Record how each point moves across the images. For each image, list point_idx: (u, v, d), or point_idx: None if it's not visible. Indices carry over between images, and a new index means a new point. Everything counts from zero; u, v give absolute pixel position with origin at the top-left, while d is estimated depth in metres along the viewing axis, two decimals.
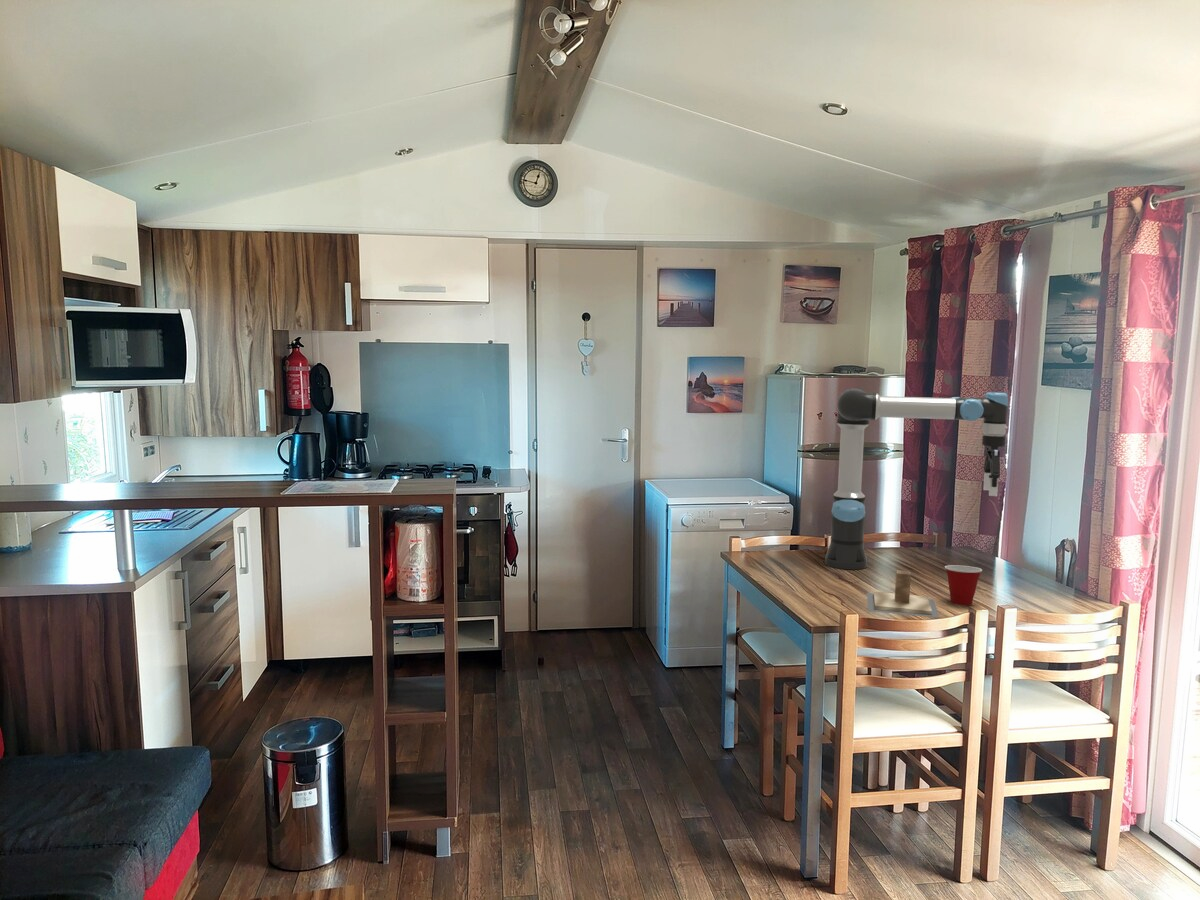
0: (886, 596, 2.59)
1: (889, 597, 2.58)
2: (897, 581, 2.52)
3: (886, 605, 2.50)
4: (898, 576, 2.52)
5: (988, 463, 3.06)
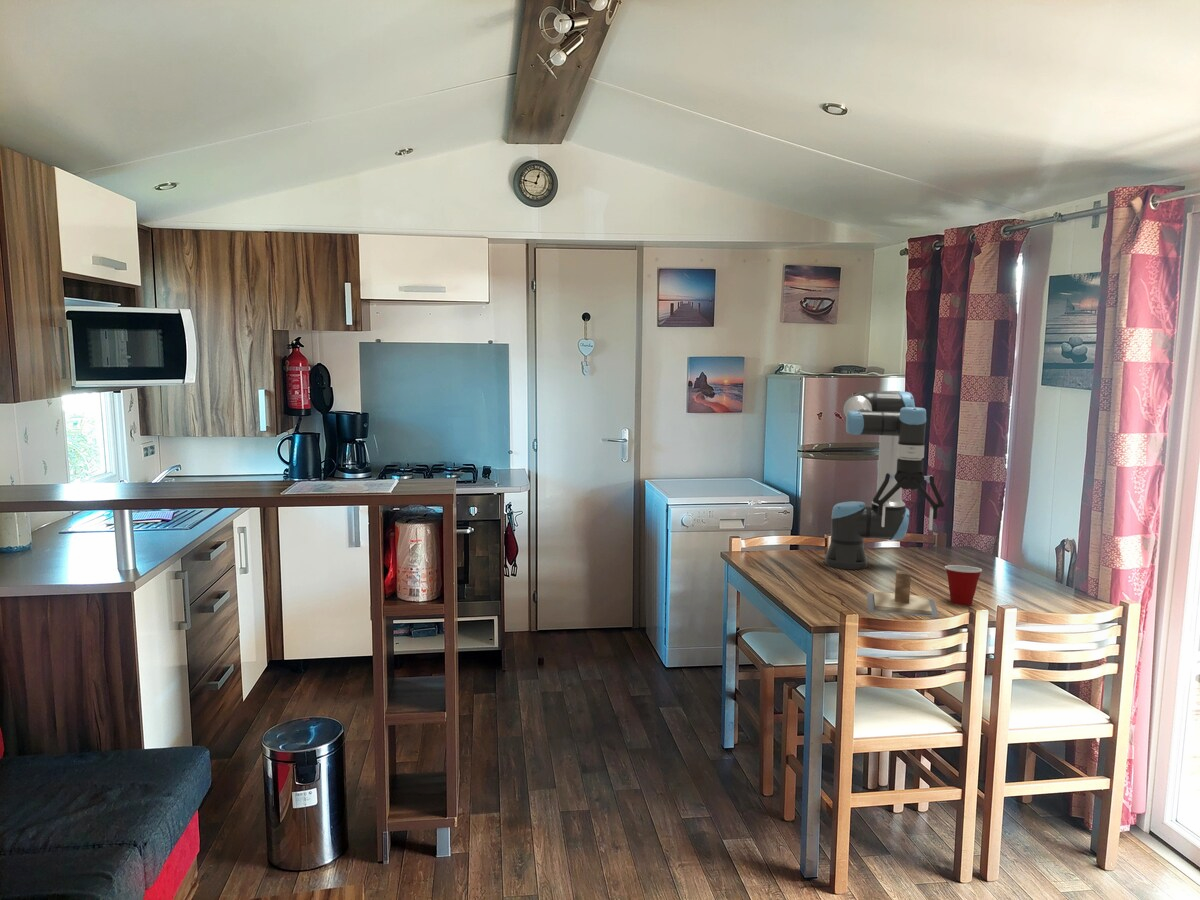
0: (886, 596, 2.59)
1: (889, 597, 2.58)
2: (897, 581, 2.52)
3: (886, 605, 2.50)
4: (898, 576, 2.52)
5: None
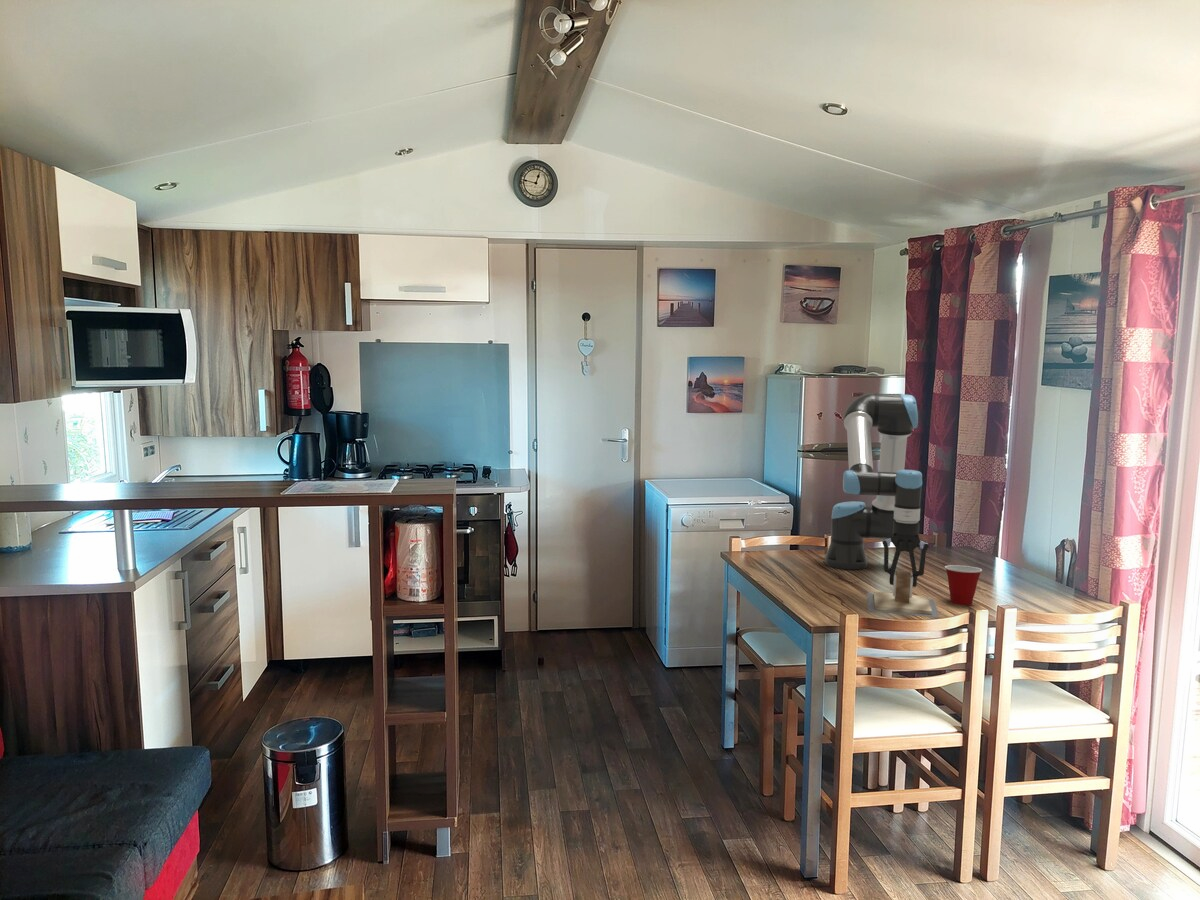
0: (886, 596, 2.59)
1: (889, 597, 2.58)
2: (897, 581, 2.52)
3: (886, 605, 2.50)
4: (898, 576, 2.52)
5: (910, 559, 2.53)
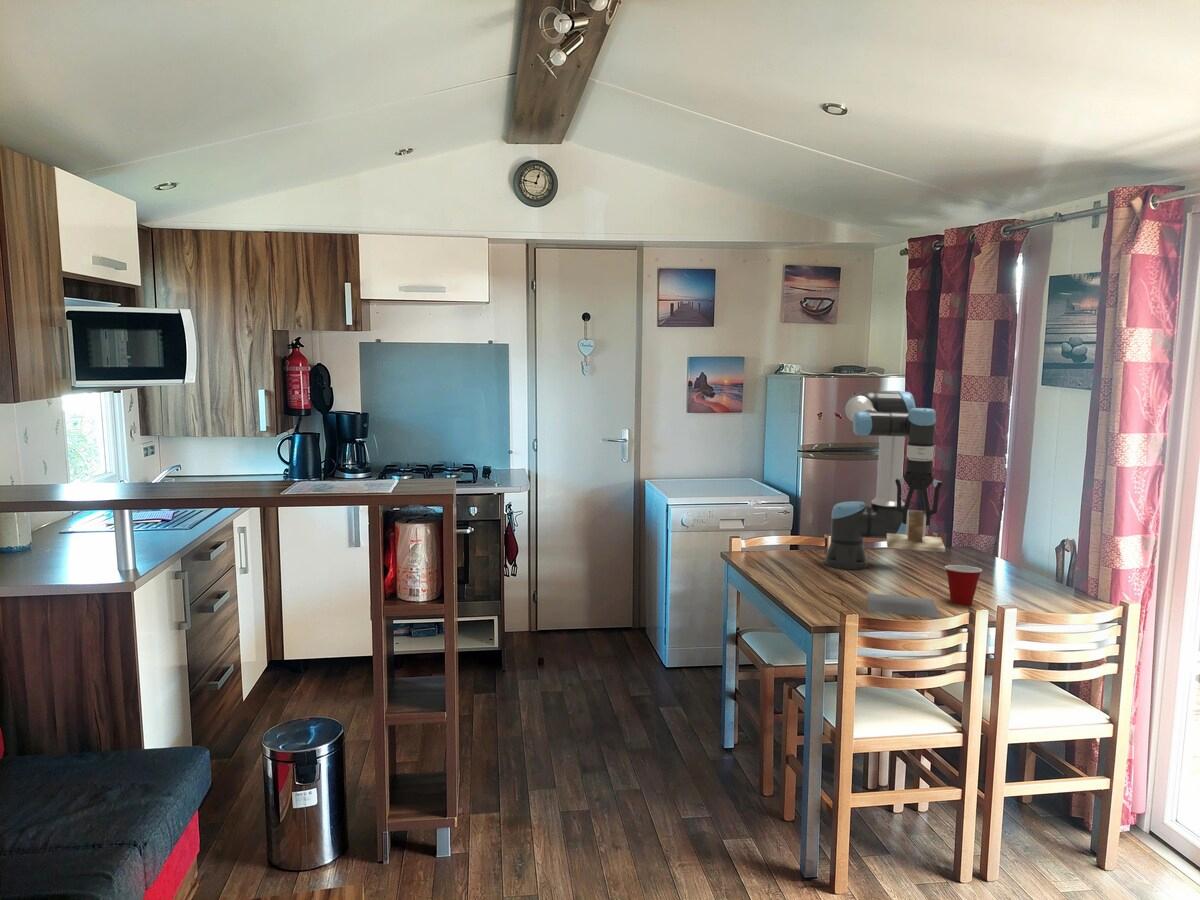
0: (899, 537, 2.58)
1: (901, 538, 2.56)
2: (910, 520, 2.51)
3: (899, 543, 2.48)
4: (911, 515, 2.51)
5: (923, 497, 2.52)
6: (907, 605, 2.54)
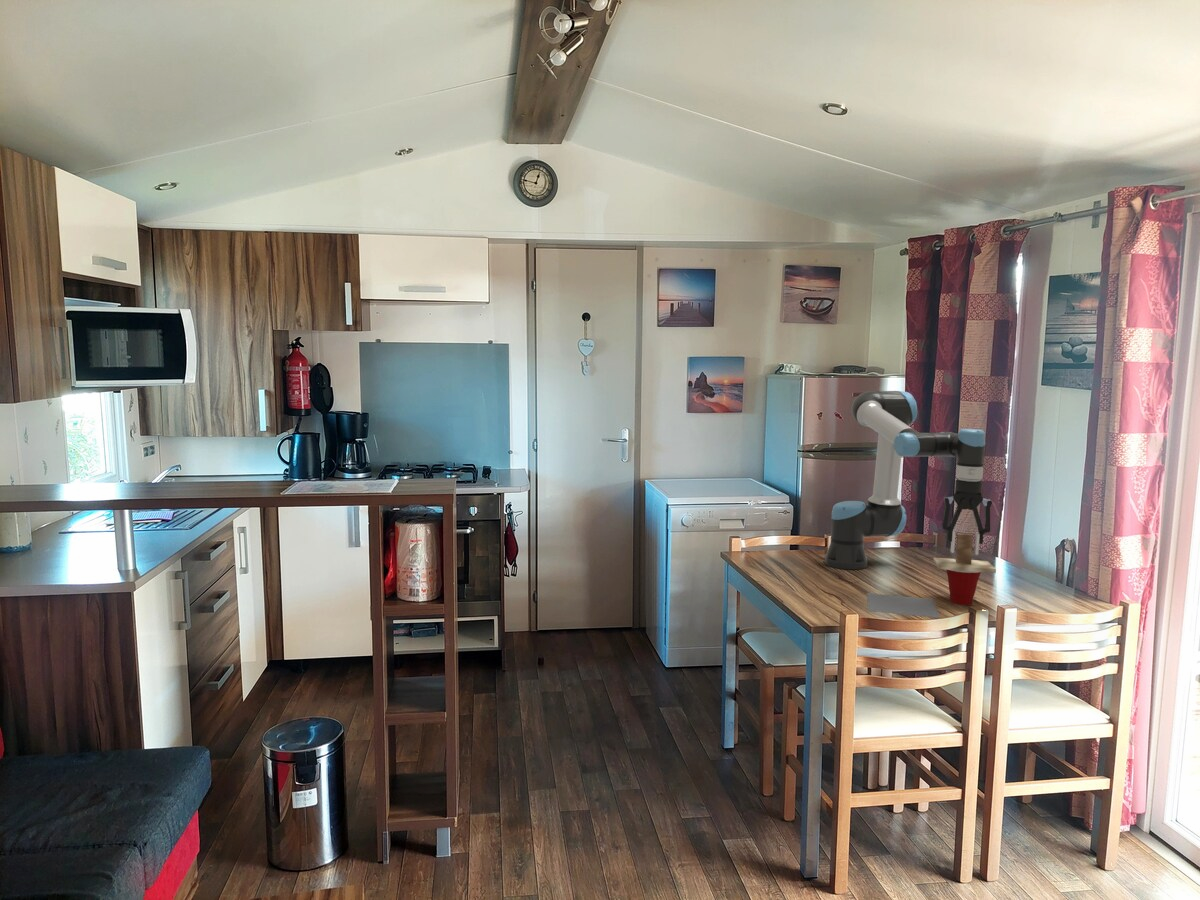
0: (947, 560, 2.62)
1: (950, 561, 2.61)
2: (959, 542, 2.56)
3: (949, 565, 2.53)
4: (959, 537, 2.56)
5: None
6: (907, 605, 2.54)
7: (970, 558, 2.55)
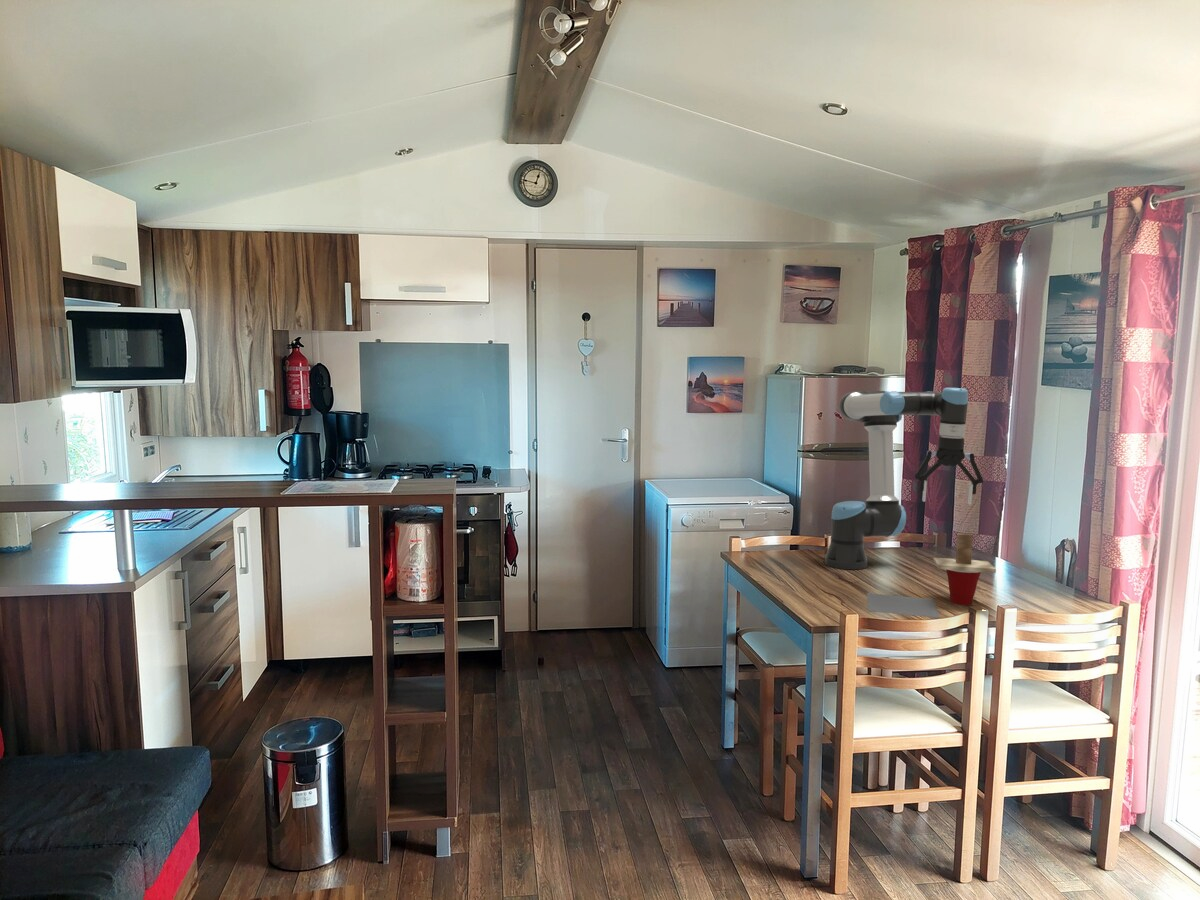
0: (947, 560, 2.62)
1: (949, 561, 2.61)
2: (959, 542, 2.56)
3: (949, 565, 2.53)
4: (959, 537, 2.56)
5: (963, 471, 2.63)
6: (907, 605, 2.54)
7: (970, 558, 2.55)
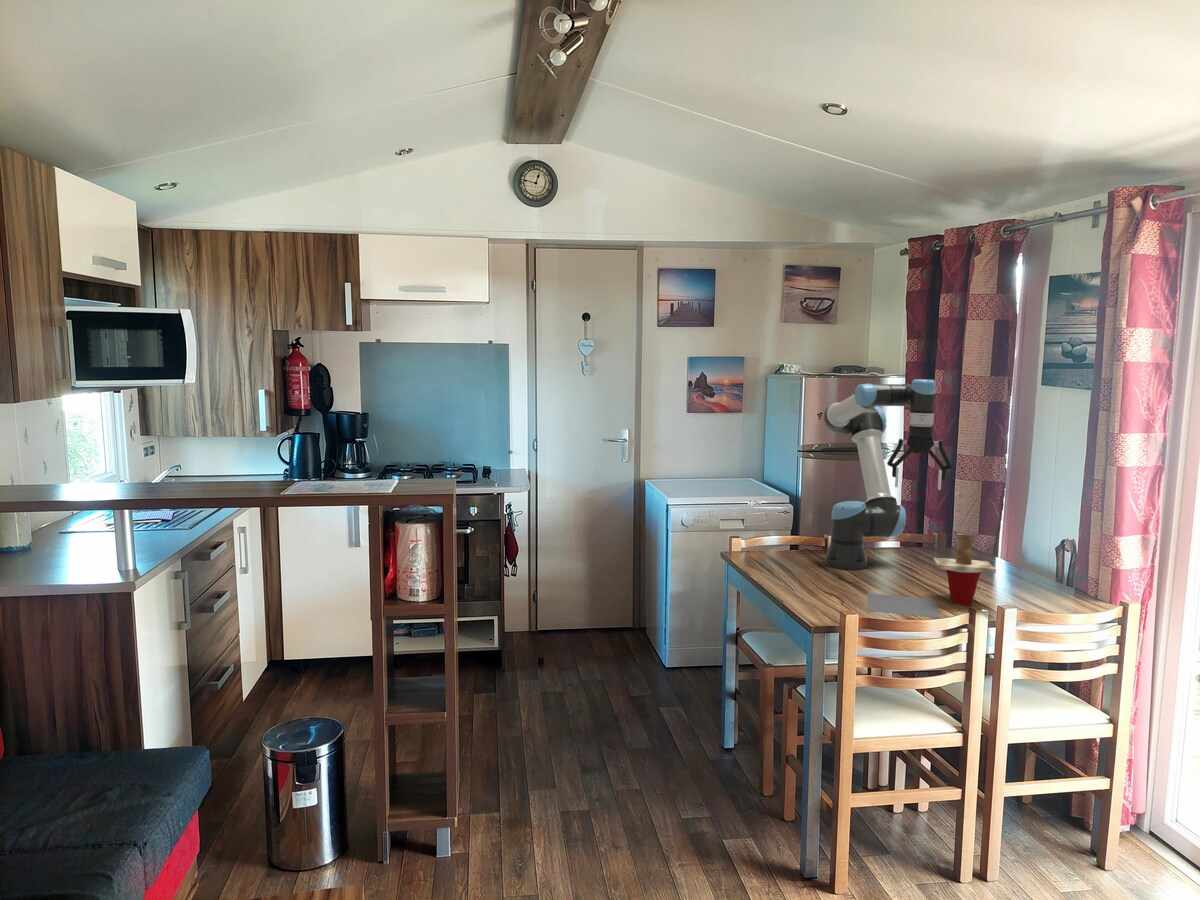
0: (947, 560, 2.62)
1: (949, 561, 2.61)
2: (958, 542, 2.56)
3: (949, 565, 2.53)
4: (959, 537, 2.56)
5: None
6: (907, 605, 2.54)
7: (970, 558, 2.55)
